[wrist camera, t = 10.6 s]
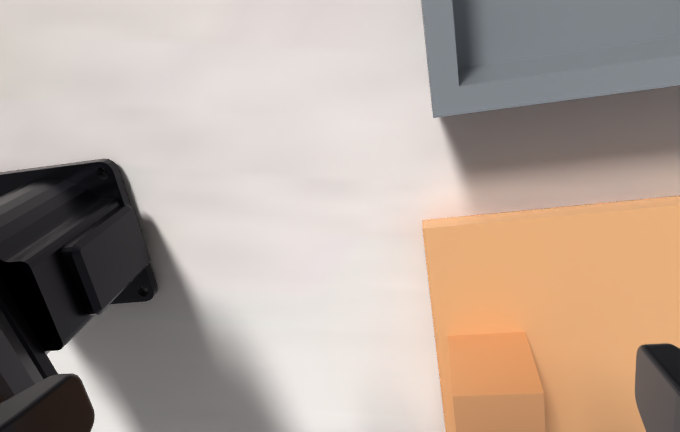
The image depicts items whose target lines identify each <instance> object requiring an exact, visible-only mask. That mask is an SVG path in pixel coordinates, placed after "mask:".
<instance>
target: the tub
mask: <svg viewBox="0 0 680 432" xmlns="http://www.w3.org/2000/svg"><path fill="white" fill-rule="evenodd" d="M421 4H422V14H423V24H424V34H425V44H426V54H427V64H428V74H429V83H430V93H431V102H432V110H433V118H436V117H444V116H452V115H459V114H467V113H474V112H482V111H489V110H497V109H505V108H512V107H520V106H527V105H535V104H543V103H550V102H558V101H565V100H573V99H581V98H588V97H596V96H603V95H611V94H618V93H626V92H634V91H641V90H649V89H656V88H664V87H672V86H679V85H680V0H421Z"/></svg>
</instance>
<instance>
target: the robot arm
mask: <svg viewBox="0 0 680 432" xmlns="http://www.w3.org/2000/svg"><path fill="white" fill-rule="evenodd" d="M102 168H105V169H106V170H107V172H108V176H106V175H104V174H103V172H102ZM149 262H150V257H149V254H148V251H147V248H146V245H145V242H144V239H143V236H142V233H141V229H140V226H139V223H138V220H137V217H136V214H135V211H134V209H133V208H132V207H131V205H130V202H129V199H128V196H127V193H126V190H125V187H124V184H123V181H122V178H121V174H120V171H119V169H118V167H117V165H116V164H115V163H114V162H113V161H111V160H109V159H98V160H91V161H83V162H76V163H68V164H61V165H53V166H46V167H38V168H31V169H23V170H16V171H8V172H0V432H90V431H91V429H92V426H93V423H94V409H93V407H92V404H91V402H90V400H89V397H88V395H87V392H86V390H85V388H84V385H83V383H82V381H81V379H80V378H79V377H78V376H77V375H75V374H58V373H57V372H56V370H55V368H54V366H53V365H52V363H51V361H50V360H49V358H48V356H47V354H48V353H49V352H50V351H54V350H60V349H62V348H63V347H64V346H65V345H66V344H67V343H68V342H69V341H70V340H71V339H72V338H73V337H74V336H75V335H76V334H77V333H78V332H79V331H80V330H81V329H82V328H83V327H84V326H85V325H86V324H87V322H88V321H89V320H90V319H91V318H92V317H93V316H94V315H99V314H100V313H102V312H103V311H104V310H105V308H106V307H107V306H108V305H109V304H117V303H130V302H143V301H149V300H151V299H152V298H153V297H154V296H155V294H156V293H157V290H158V288H157V284H156V281H155V278H154V275H153V272H152V269H151V266H150V263H149ZM142 287H145V288H147V290H148V292H146V291H144V290H143V289H142ZM635 399H636V404H637V408H638V411H639V413H640V416H641V419H642V422H643V424H644V427H645V430H646V432H680V348H678V347H676V346H675V345H672V344H669V343H660V344H643V345H641V346H640V347H639V348H638V350H637V353H636V371H635Z"/></svg>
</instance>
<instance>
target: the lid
mask: <svg viewBox="0 0 680 432" xmlns="http://www.w3.org/2000/svg"><path fill="white" fill-rule="evenodd" d="M422 224H423V237H424V246H425V254H426V263H427V272H428V280H429V289H430V298H431V306H432V315H433V324H434V332H435V341H436V350H437V359H438V367H439V376H440V385H441V393H442V402H443V411H444V419H445V428H446V432H646V430H645V427H644V424H643V422H642V419H641V416H640V413H639V411H638V408H637V404H636V399H635V371H636V353H637V350H638V348H639V347H640V346H641V345H643V344H660V343H669V344H672V345H675V346H676V347H678V348H680V196H671V197H661V198H650V199H640V200H629V201H619V202H608V203H598V204H587V205H577V206H566V207H556V208H545V209H535V210H524V211H514V212H503V213H493V214H482V215H472V216H461V217H451V218H440V219H430V220H422Z"/></svg>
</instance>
